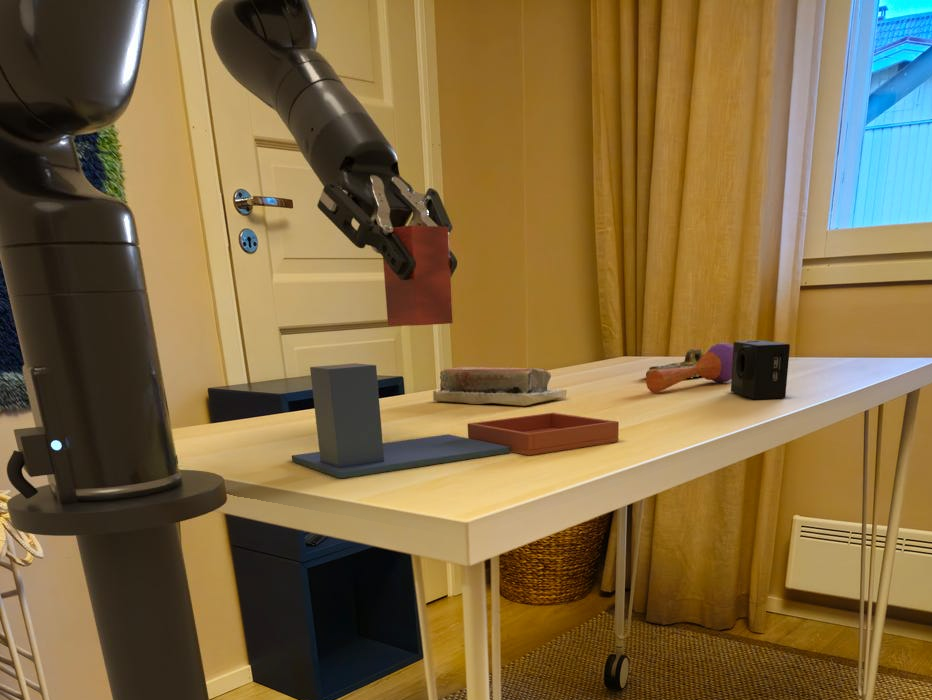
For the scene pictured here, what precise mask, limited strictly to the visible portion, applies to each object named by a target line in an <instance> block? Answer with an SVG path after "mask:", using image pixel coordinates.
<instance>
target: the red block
mask: <svg viewBox="0 0 932 700" xmlns="http://www.w3.org/2000/svg"><path fill="white" fill-rule="evenodd" d="M392 234H397V235H398V236H399V237H400V239H401V240H402V242H403V243H404V245H405V246H406V248H407V249H408V251H409V252H410V253H411V255H412V256H413V258H414V259H415V261H416V267H415V269H414V271H413V273H412V275H411V277H410V279H409V280H400V279H399V277H398V276H397V274H396V273H394V272H393V271H392V270H391V268H390V267H389V265H388V264H387V262H386V261H385V259H384V258H383V257H382V262H383V276H384V290H385V291H384V292H385V303H386V317H387V319H386V320H387V327H406V326H407V327H411V326H430V325H431V326H435V325H446V324H447V325H449V324H453V301H452V281H451V280H452V279H451V278H452V277H450V256H449V249H450V237H449V236H450V234H449V235H448V227H441V226H415V225H411V226H408V225H406V226H404V227H397V228H393V233H392Z"/></svg>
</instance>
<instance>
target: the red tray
mask: <svg viewBox="0 0 932 700" xmlns="http://www.w3.org/2000/svg"><path fill="white" fill-rule="evenodd" d="M619 425H620V422H619V421H617V420H610V419H602V418H601V419H600V418H595V417H587V416H581V415H573V414H566V413H558V412H547V413H538V414H531V415H523V416H516V417H507V418H499V419H493V420H486V421H485V420H484V421H477V422H468V423H467V438H469V439H473V440H478V441H483V442H488V443H493V444H498V445H503V446H508V447H510V453H515V454H519V455H520V454H521V455H524V456H535V455H541V454H548V453H554V452H560V451H567V450H573V449H579V448H586V447H593V446H599V445H605V444H611V443H617V442H618V443H619V435H620V434H619V432H620V431H619V428H620V426H619Z"/></svg>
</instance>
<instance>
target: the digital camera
mask: <svg viewBox="0 0 932 700" xmlns="http://www.w3.org/2000/svg"><path fill="white" fill-rule="evenodd" d="M732 346H733V363H732V379H731V380H730V393H734V394H737V395H739V396H742V397H745V398H749V399H752V400H772V399H774V400H775V399H785V398H786V395H787V384H788V372H789V363H790V362H789V359H790V350H791V349H790V348H791V344H789V343H785V342H778V341H770V340H745V341H744V340H743V341H734V342H733V345H732Z"/></svg>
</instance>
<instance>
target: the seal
mask: <svg viewBox="0 0 932 700" xmlns="http://www.w3.org/2000/svg"><path fill="white" fill-rule="evenodd" d="M703 355H704V354H703V351H702V349H701V348H690V349H688V350H687V351H686V354H685V356H684V361H682V362H681V361H680V362H673V363H669V364H665V365H660V366H659V365H653V366H650V367H649V368H648V370H647V371H646V373H645V378H646V377H647V374H648V373H649V372H650V371H652V370H659V369H671V368H683V367H695V366H696V364H697V363H698V361H699V360H700V358H701V357H702V356H703ZM698 376H699V375H698V374H695V375H693V376H691V377H698ZM691 377H689V378H691ZM698 378H699V377H698ZM691 379H692V378H691Z"/></svg>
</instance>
